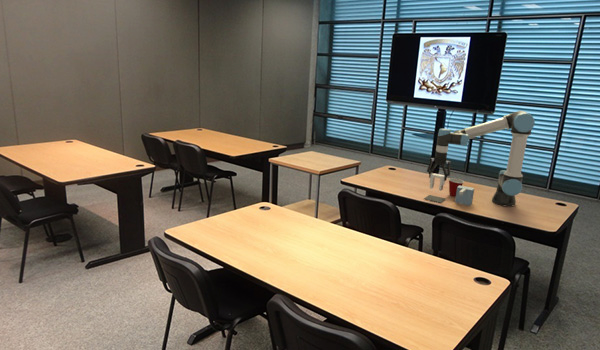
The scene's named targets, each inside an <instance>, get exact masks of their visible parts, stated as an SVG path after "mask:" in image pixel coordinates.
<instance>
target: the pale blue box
mask: <svg viewBox="0 0 600 350" xmlns="http://www.w3.org/2000/svg"><path fill="white" fill-rule="evenodd" d="M432 173H433V172H432ZM443 176H444V174H439V173H433V174H431V181H430V180H429V189H434V185H435V180H436V178H437V179H439V185H438V191H440V192H441V191H443V189H444V185H442V182H443Z"/></svg>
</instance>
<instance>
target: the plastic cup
mask: <svg viewBox="0 0 600 350" xmlns="http://www.w3.org/2000/svg"><path fill="white" fill-rule="evenodd" d="M464 183H465V181H464V180H463V179H460V178H457V177H456V178H455V177H449V178H448V187H449V188H448V189H449V190H448V191H449V193H448V194H449V196H450V197H453V198H454V197H455V198H456V192H457V187H458V186H459V185H460V186H463V184H464Z"/></svg>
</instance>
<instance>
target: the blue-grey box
mask: <svg viewBox="0 0 600 350" xmlns="http://www.w3.org/2000/svg"><path fill="white" fill-rule="evenodd" d="M474 194H475V187H469V186H464V185H462V186H460V185H459V186H458V187H457V192H456V197H455V199H454V203H455V202H456V203H455V204H461V205H464V206H469V207H470V206H471V205H472V204H473V199H474Z"/></svg>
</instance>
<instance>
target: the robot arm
mask: <svg viewBox="0 0 600 350" xmlns="http://www.w3.org/2000/svg"><path fill="white" fill-rule="evenodd" d="M535 121H536V120H535V119H534V117H533V115H532V114H531V113H529V112H526V111H524V110H517V111H515V112H511V113H509V114H506V115H503V117H501V118H497V119H494V120H490V121H487V122H484V123H480V124H476V125H473V126H469V127H466V128H463V129H456V130H454V131H453V132H452V131H451V129H448V128H439V130H438V133H437V139H436V146H435V147H436V148H435V153H434V155H435V156H434V157H431V158H430V159H429V163H428V167H427V170H426V172H427V173H428V178H429V182H430V181H431V174H433V172H434V171H435V168H436V167H437V166H441V168H442V172H443V175H444V176H443V182H442V185H443V186H445V181H447V180H448V179H447V178H448V177H450V176H451V161H450V160H448V159H447V157H448V150H449V144H450V145H457V146H467V145H468V144H469V140H470V139H474V138H477V137H481V136H484V135H488V134H491V133H494V132H495V133H496V132H498V131H501V130H502V131H503V130H505V129H506V130H510V133H511V135H512V136H511V137H512V138H511V144H510V149H509V154H508V159H507V165H506V170H505V169H504V170H502V169H501V170H500V171H499V173H498V180H497V186H496V189H495V192H494V194H493V196H492V199H491V202H492V203H493V204H495V205H499V206H503V205H506V206H505V207H513V206H512V205H515V206H516V203H517V201H516V196H517V195H519V194H520V193H521V192H522V191H523V184H522V183H523V177H524V175H523V173H522V168H523V164H524V163H523V162H524V158H525V152H526V148H527V147H526V146H527V141H528V137H530V136H531V134H532V130H533V128H534V126H535ZM433 162H435V163H434V164H433ZM432 165H433V166H432Z"/></svg>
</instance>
